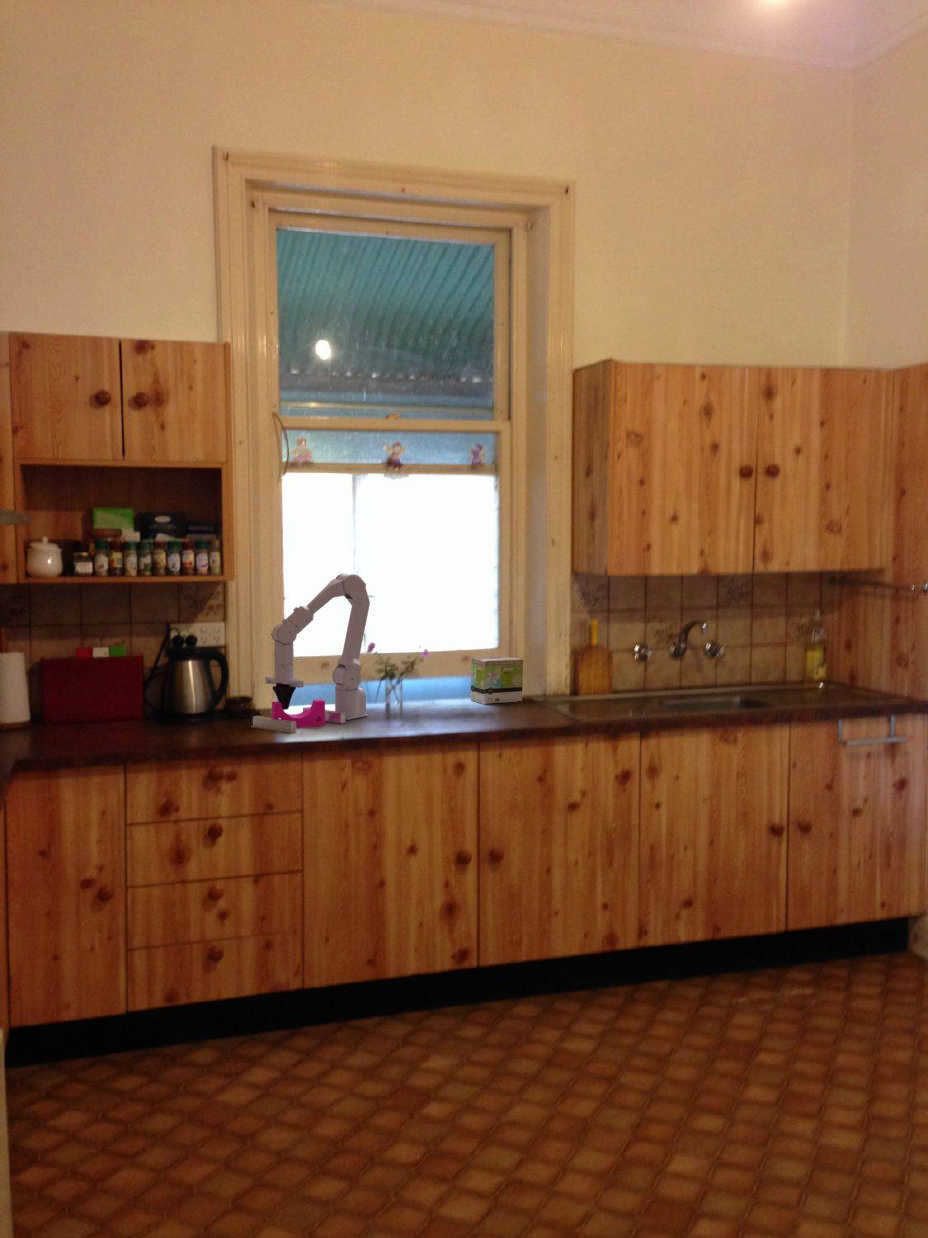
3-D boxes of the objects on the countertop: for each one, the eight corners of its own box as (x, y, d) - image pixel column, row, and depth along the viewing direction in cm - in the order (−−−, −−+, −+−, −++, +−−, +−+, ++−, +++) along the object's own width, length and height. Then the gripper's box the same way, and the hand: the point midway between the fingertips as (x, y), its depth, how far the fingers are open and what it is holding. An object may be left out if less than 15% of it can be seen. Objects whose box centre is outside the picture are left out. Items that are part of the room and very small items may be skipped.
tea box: (484, 705, 359) (485, 660, 358) (470, 700, 368) (470, 657, 367) (523, 701, 366) (523, 658, 365) (508, 697, 375) (508, 655, 374)
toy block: (319, 722, 326) (319, 698, 325) (325, 726, 320) (324, 701, 319) (270, 725, 320) (270, 700, 320) (274, 729, 315) (274, 703, 314)
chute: (309, 716, 335) (309, 706, 335) (347, 722, 325) (347, 712, 325) (250, 727, 317) (250, 717, 316) (288, 733, 307) (288, 723, 307)
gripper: (257, 663, 325) (257, 708, 326) (290, 667, 316) (291, 713, 317) (275, 661, 330) (275, 705, 332) (308, 665, 322) (308, 710, 323)
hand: (284, 709), depth 325 cm, fingers closed
